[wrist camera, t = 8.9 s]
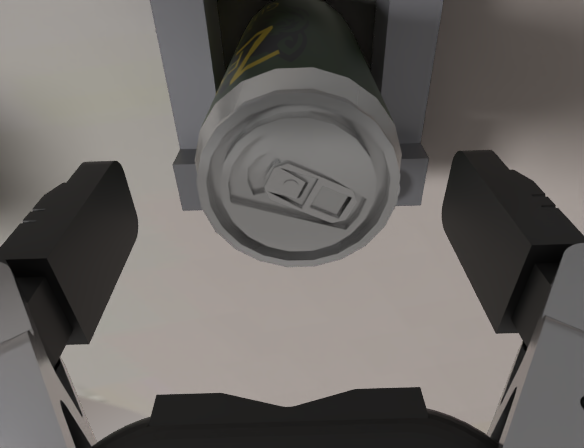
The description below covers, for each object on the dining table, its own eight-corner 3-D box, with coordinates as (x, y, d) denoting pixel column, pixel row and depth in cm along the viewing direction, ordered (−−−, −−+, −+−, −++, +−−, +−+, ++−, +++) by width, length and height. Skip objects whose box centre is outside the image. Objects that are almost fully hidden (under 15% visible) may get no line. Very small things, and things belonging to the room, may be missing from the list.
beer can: (376, 27, 19) (457, 142, 9) (322, 128, 22) (342, 296, 12) (266, -32, 18) (231, 34, 8) (224, 84, 21) (161, 233, 11)
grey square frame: (200, 164, 23) (180, 218, 19) (156, -82, 17) (111, -81, 13) (400, 159, 23) (423, 212, 19) (434, -92, 17) (480, -95, 12)
